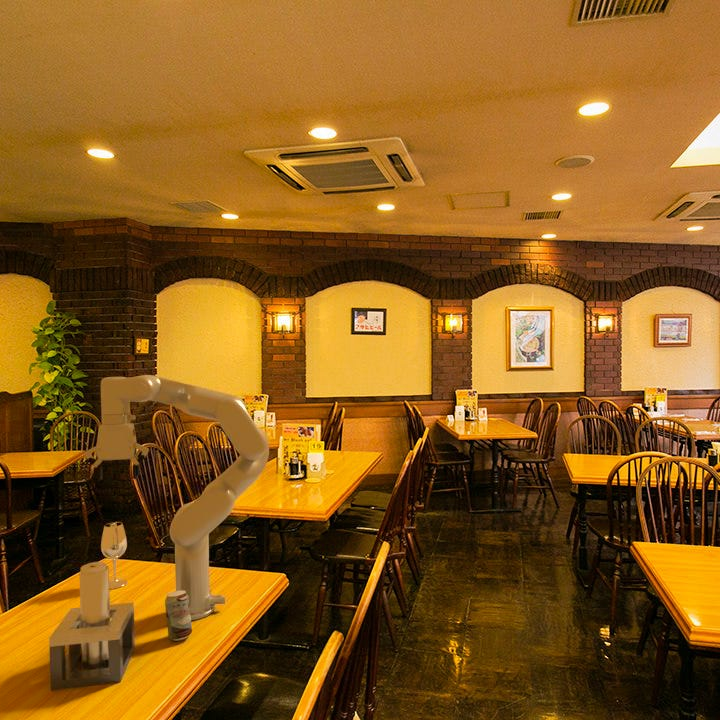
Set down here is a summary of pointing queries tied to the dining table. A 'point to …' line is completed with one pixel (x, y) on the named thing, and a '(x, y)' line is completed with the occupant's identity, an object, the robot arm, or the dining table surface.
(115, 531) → the wineglass
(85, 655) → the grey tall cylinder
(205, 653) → the dining table surface
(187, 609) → the beverage can
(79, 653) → the collar stand
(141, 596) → the dining table surface
